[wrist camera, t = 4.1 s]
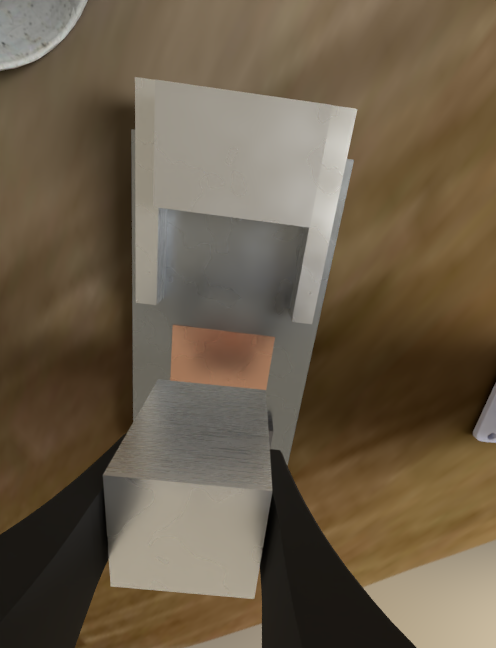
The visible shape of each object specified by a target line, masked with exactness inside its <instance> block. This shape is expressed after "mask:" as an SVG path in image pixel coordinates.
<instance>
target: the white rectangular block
mask: <svg viewBox="0 0 496 648" xmlns="http://www.w3.org/2000/svg"><path fill="white" fill-rule="evenodd" d="M103 485H104V499H105V512H106V526H107V540H108V554H109V567H110V581H111V586H114V587H125V588H136V589H148V590H159V591H170V592H181V593H193V594H204V595H215V596H227V597H238V598H249V599H254V597H255V591H256V585H257V579H258V573H259V567H260V561H261V555H262V550H263V544H264V538H265V532H266V526H267V520H268V514H269V508H270V503H271V497H272V477H271V461H270V446H269V430H268V415H267V399H266V390H261V389H251V388H241V387H231V386H221V385H211V384H200V383H190V382H180V381H170V380H160V379H158V380H157V382H156V384H155V385H154V387H153V389H152V391H151V392H150V394H149V396H148V398H147V399H146V401H145V403H144V404H143V406H142V408H141V410H140V411H139V413H138V415H137V417H136V418H135V420H134V422H133V424H132V425H131V427H130V429H129V431H128V432H127V434H126V436H125V437H124V439H123V441H122V443H121V444H120V446H119V448H118V450H117V451H116V453H115V455H114V457H113V458H112V460H111V462H110V464H109V465H108V467H107V469H106V470H105V472H104V474H103Z"/></svg>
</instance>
